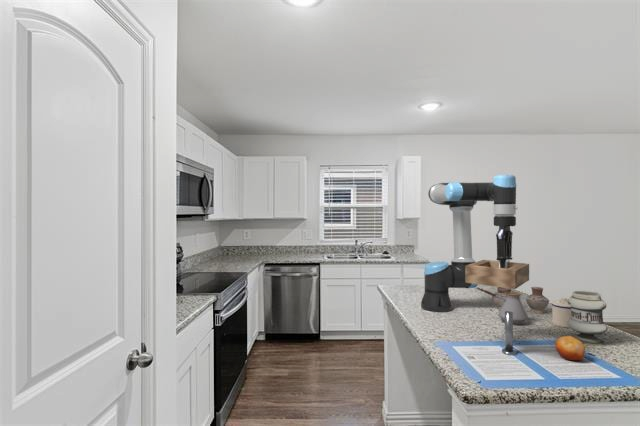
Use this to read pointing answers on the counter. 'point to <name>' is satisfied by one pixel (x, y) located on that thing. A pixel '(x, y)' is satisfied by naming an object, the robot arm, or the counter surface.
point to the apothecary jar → (587, 316)
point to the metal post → (509, 334)
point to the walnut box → (497, 274)
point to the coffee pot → (511, 307)
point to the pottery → (534, 300)
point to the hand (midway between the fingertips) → (504, 276)
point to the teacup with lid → (561, 313)
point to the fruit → (570, 348)
